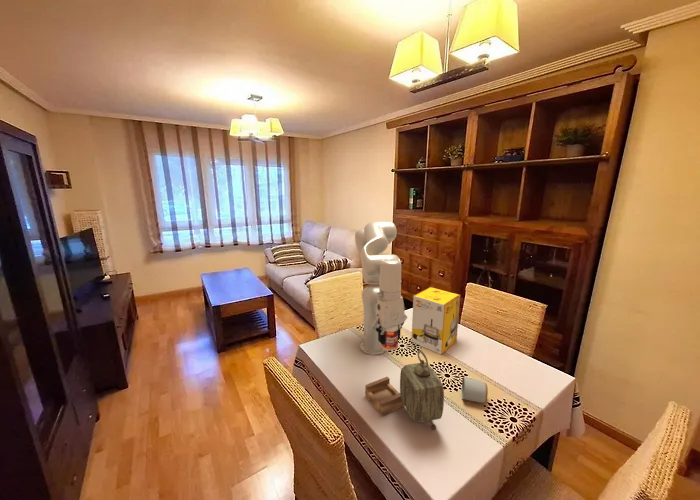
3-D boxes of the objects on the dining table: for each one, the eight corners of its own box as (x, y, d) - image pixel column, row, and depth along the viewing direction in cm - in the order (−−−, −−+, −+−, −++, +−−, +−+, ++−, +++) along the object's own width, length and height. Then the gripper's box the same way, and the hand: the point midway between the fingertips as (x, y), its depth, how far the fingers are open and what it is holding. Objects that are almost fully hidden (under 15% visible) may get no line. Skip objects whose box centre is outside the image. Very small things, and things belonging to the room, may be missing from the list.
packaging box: (456, 341, 143) (460, 294, 137) (441, 354, 131) (444, 305, 126) (427, 330, 154) (430, 287, 148) (411, 341, 143) (413, 295, 137)
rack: (365, 395, 106) (365, 384, 105) (387, 386, 111) (387, 376, 110) (381, 416, 97) (382, 404, 96) (404, 405, 102) (405, 394, 100)
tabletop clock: (441, 433, 90) (446, 364, 84) (415, 438, 88) (418, 368, 83) (421, 400, 104) (424, 339, 98) (398, 404, 102) (400, 342, 96)
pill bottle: (387, 352, 99) (387, 323, 97) (377, 344, 105) (377, 316, 103) (401, 348, 102) (401, 319, 100) (391, 340, 107) (392, 313, 105)
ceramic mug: (487, 408, 100) (489, 389, 98) (462, 403, 102) (464, 385, 101) (482, 388, 110) (484, 371, 108) (460, 384, 112) (461, 367, 110)
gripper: (375, 302, 92) (375, 352, 96) (415, 292, 100) (414, 338, 104) (363, 295, 99) (363, 342, 102) (402, 286, 107) (401, 330, 110)
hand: (389, 340), depth 103 cm, fingers closed on pill bottle, 6 cm apart
